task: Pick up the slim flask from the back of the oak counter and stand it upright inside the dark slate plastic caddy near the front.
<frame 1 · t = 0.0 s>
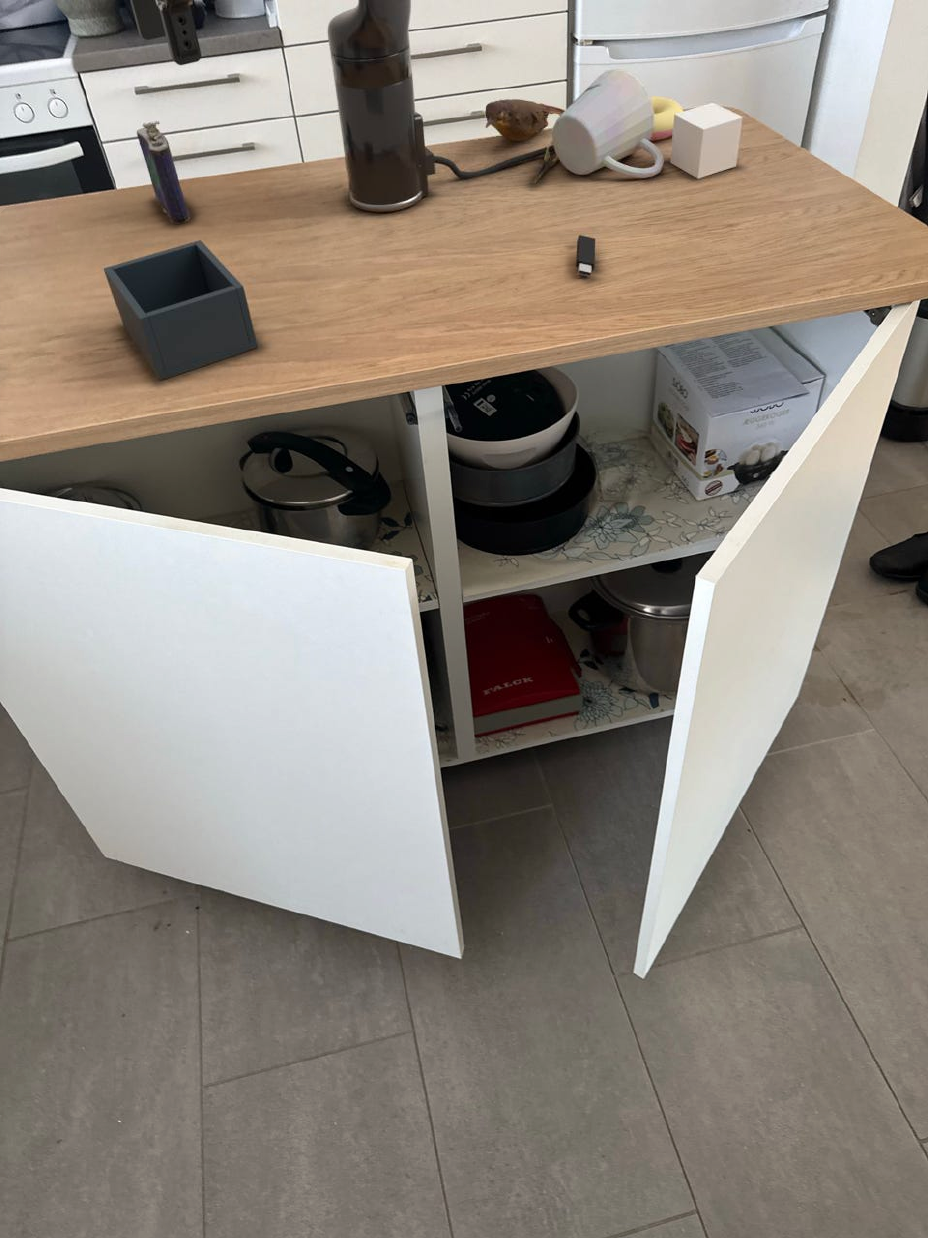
hand: (170, 48, 76), 28 cm above the countertop, tool pointing down, fingers open, 8 cm apart
caddy: (189, 337, 100), on the countertop
brown clothespin: (546, 169, 125), on the countertop
bird sculpture: (523, 140, 133), on the countertop
usb flash drive: (587, 250, 106), point 1 cm above the countertop
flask: (174, 211, 122), on the countertop
mug: (584, 158, 119), point 3 cm above the countertop
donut: (679, 130, 128), point 1 cm above the countertop
white cube: (717, 115, 116), point 7 cm above the countertop
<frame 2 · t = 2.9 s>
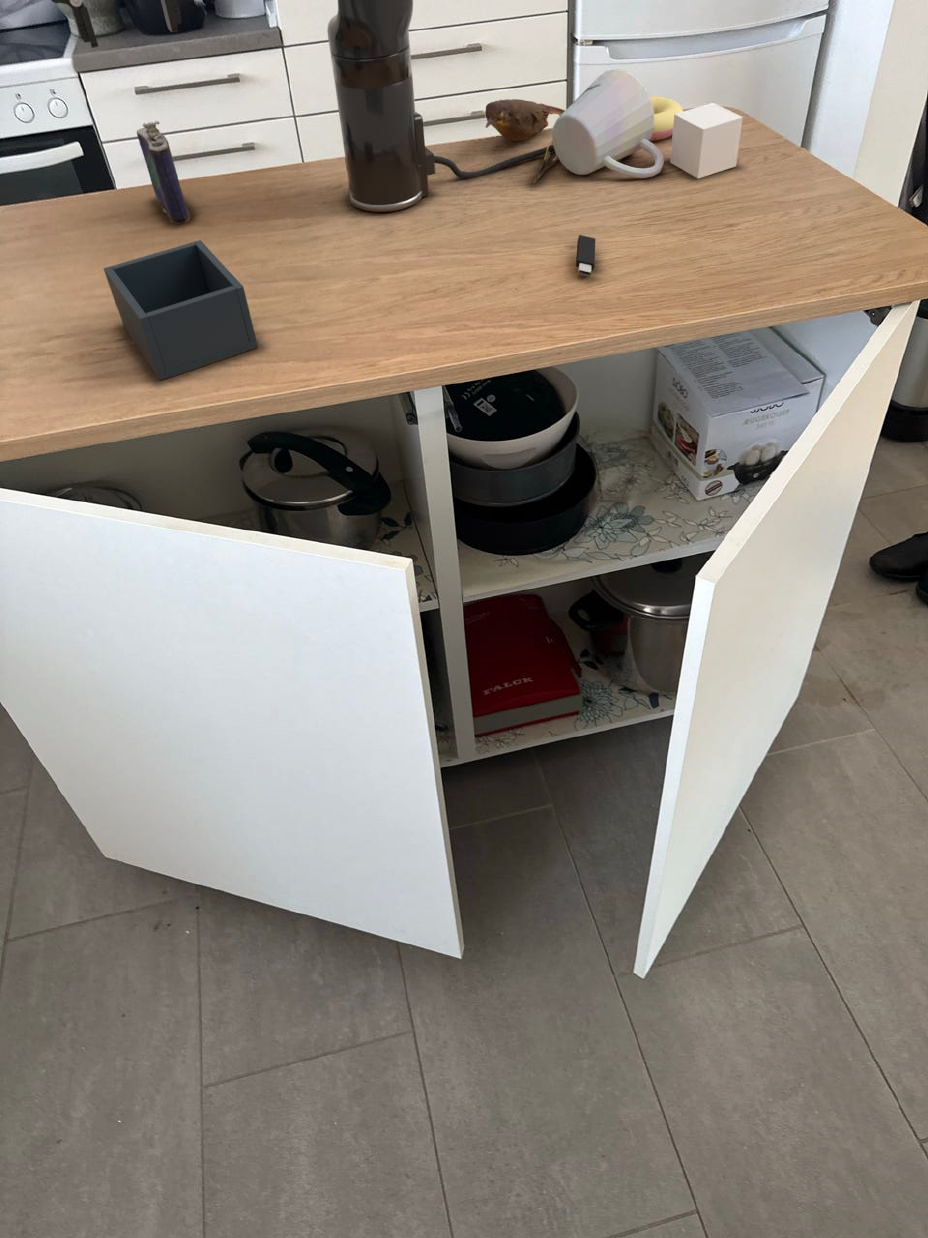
hand: (133, 37, 100), 22 cm above the countertop, tool pointing down, fingers open, 8 cm apart
nothing on the countertop moved.
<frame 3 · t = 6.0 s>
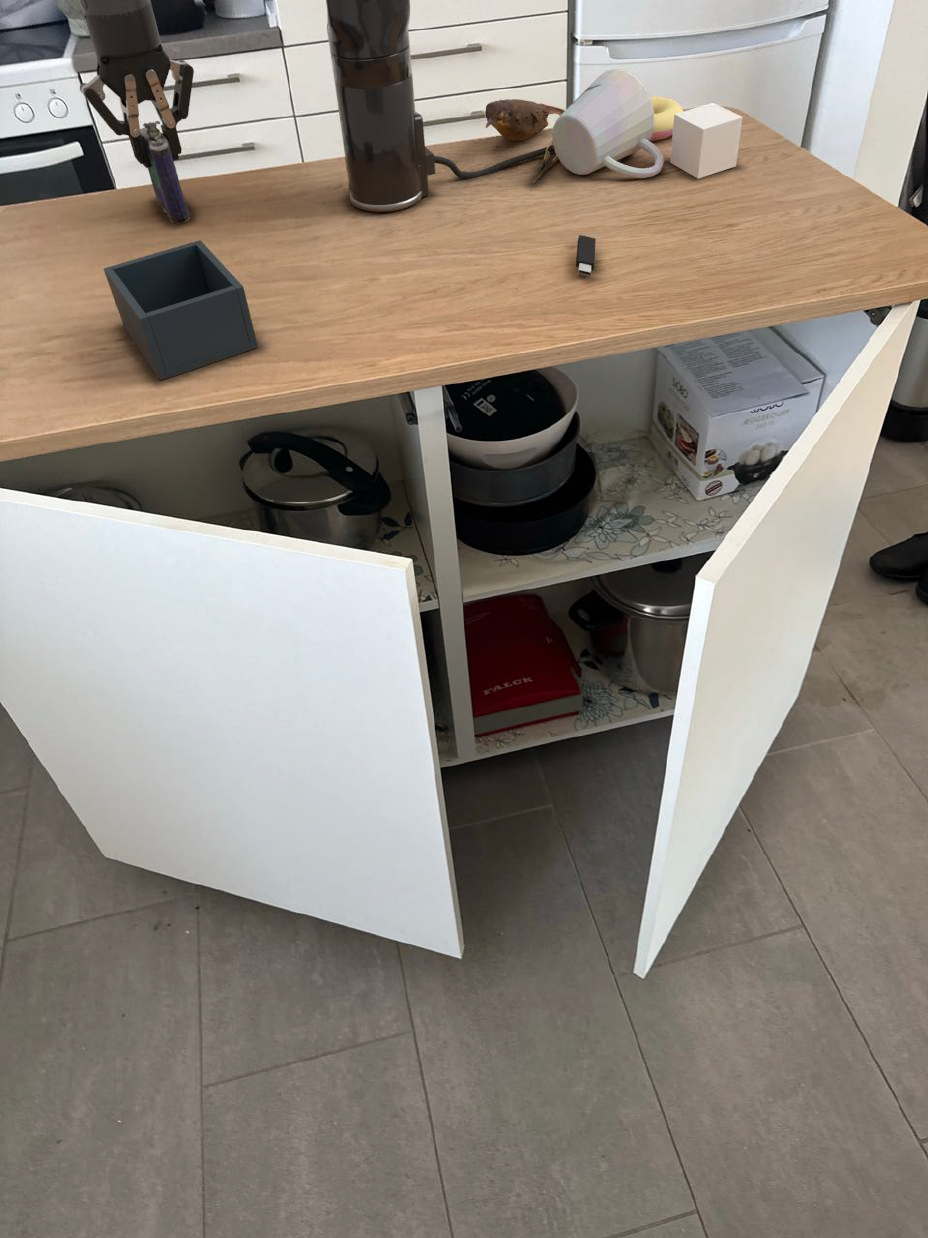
hand: (160, 161, 118), 6 cm above the countertop, tool pointing down, fingers closed on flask, 3 cm apart
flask: (174, 211, 122), on the countertop, touching gripper
everything else where it was.
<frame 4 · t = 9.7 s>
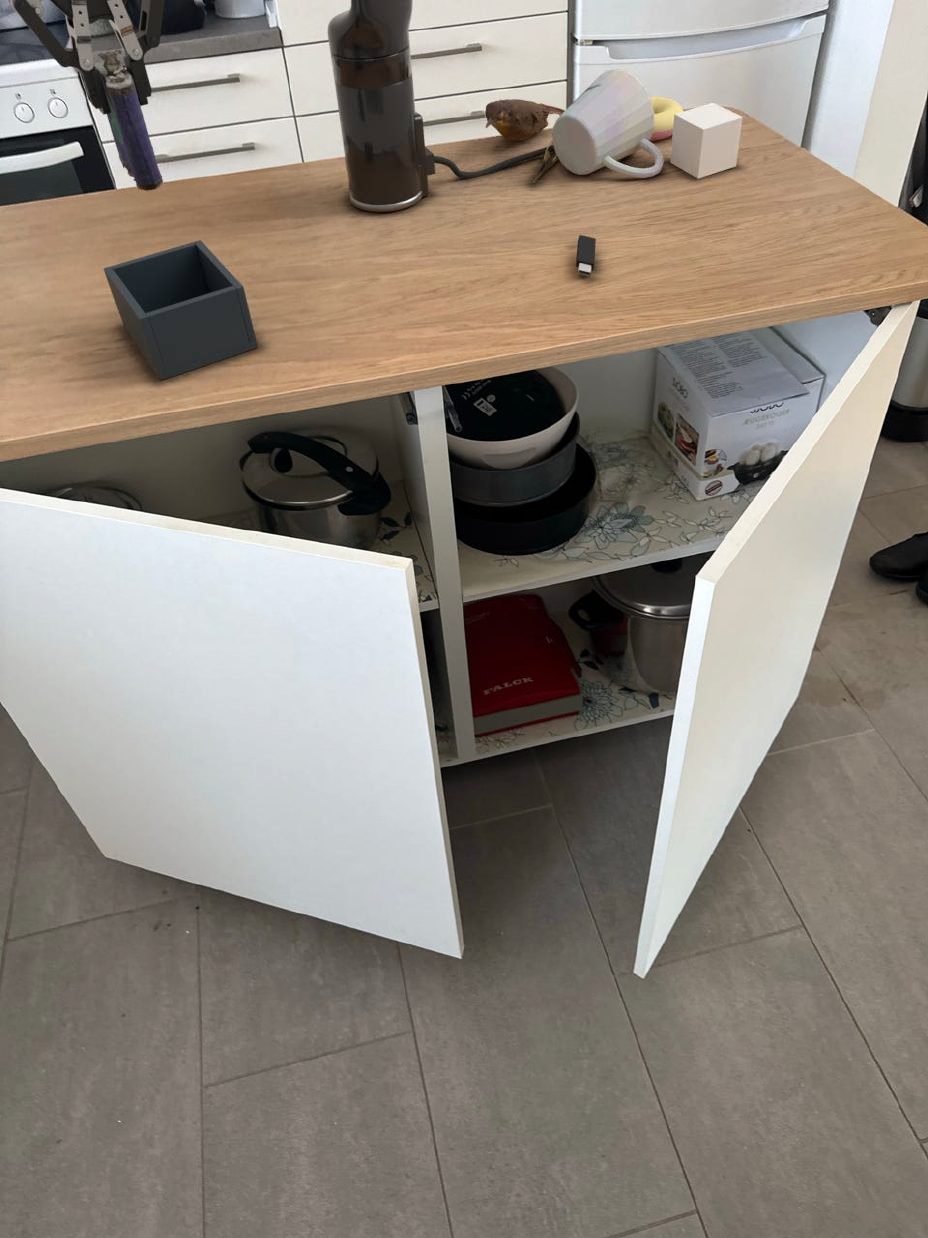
hand: (123, 106, 88), 21 cm above the countertop, tool pointing down, fingers closed on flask, 3 cm apart
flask: (143, 175, 92), point 15 cm above the countertop, touching gripper
everything else where it was.
when the fingers open (7 cm above the countertop, at t = 13.6 s): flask stays where it is, resting on caddy.
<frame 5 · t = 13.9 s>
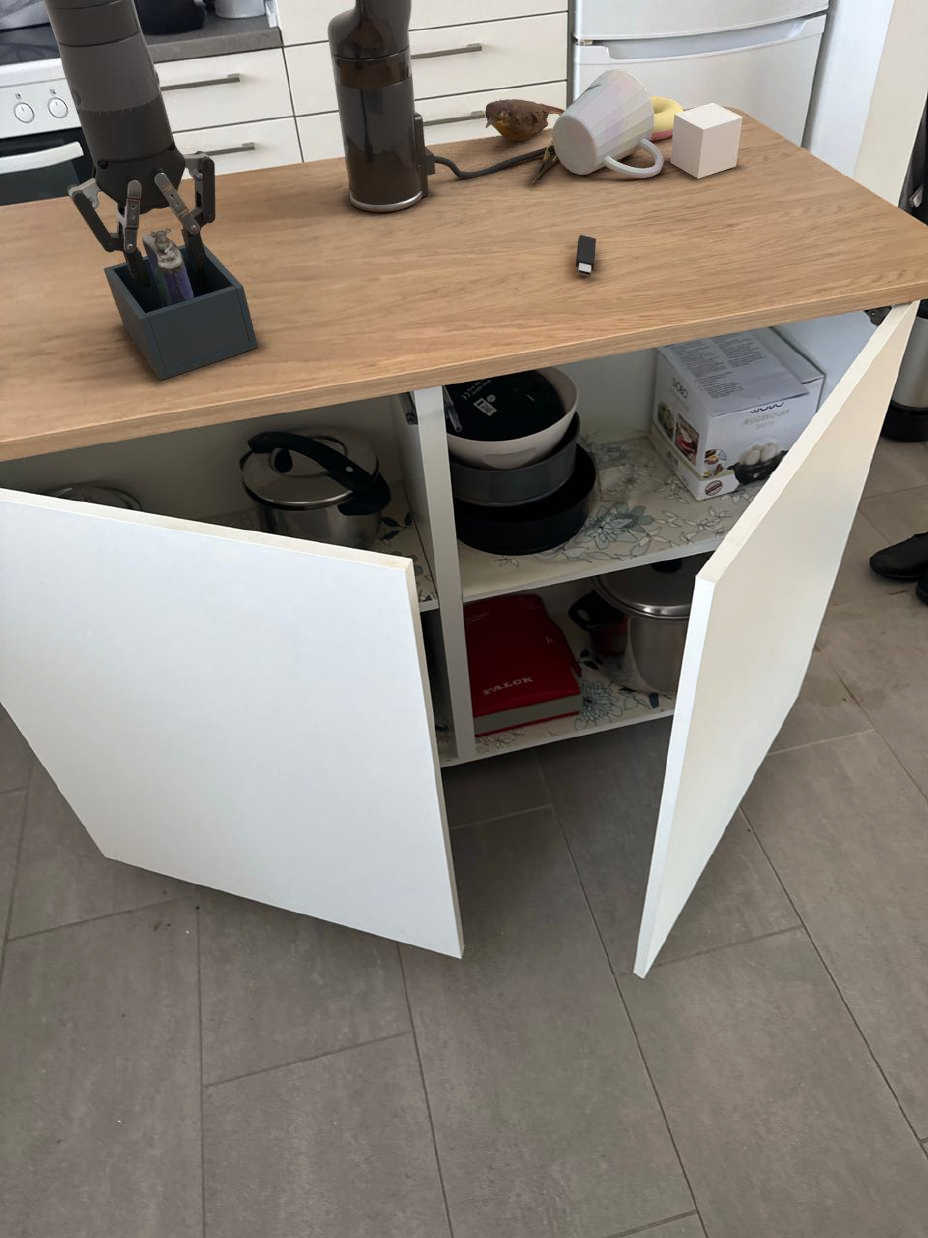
hand: (171, 275, 95), 7 cm above the countertop, tool pointing down, fingers open, 5 cm apart
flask: (188, 331, 100), point 1 cm above the countertop, touching caddy
everything else where it was.
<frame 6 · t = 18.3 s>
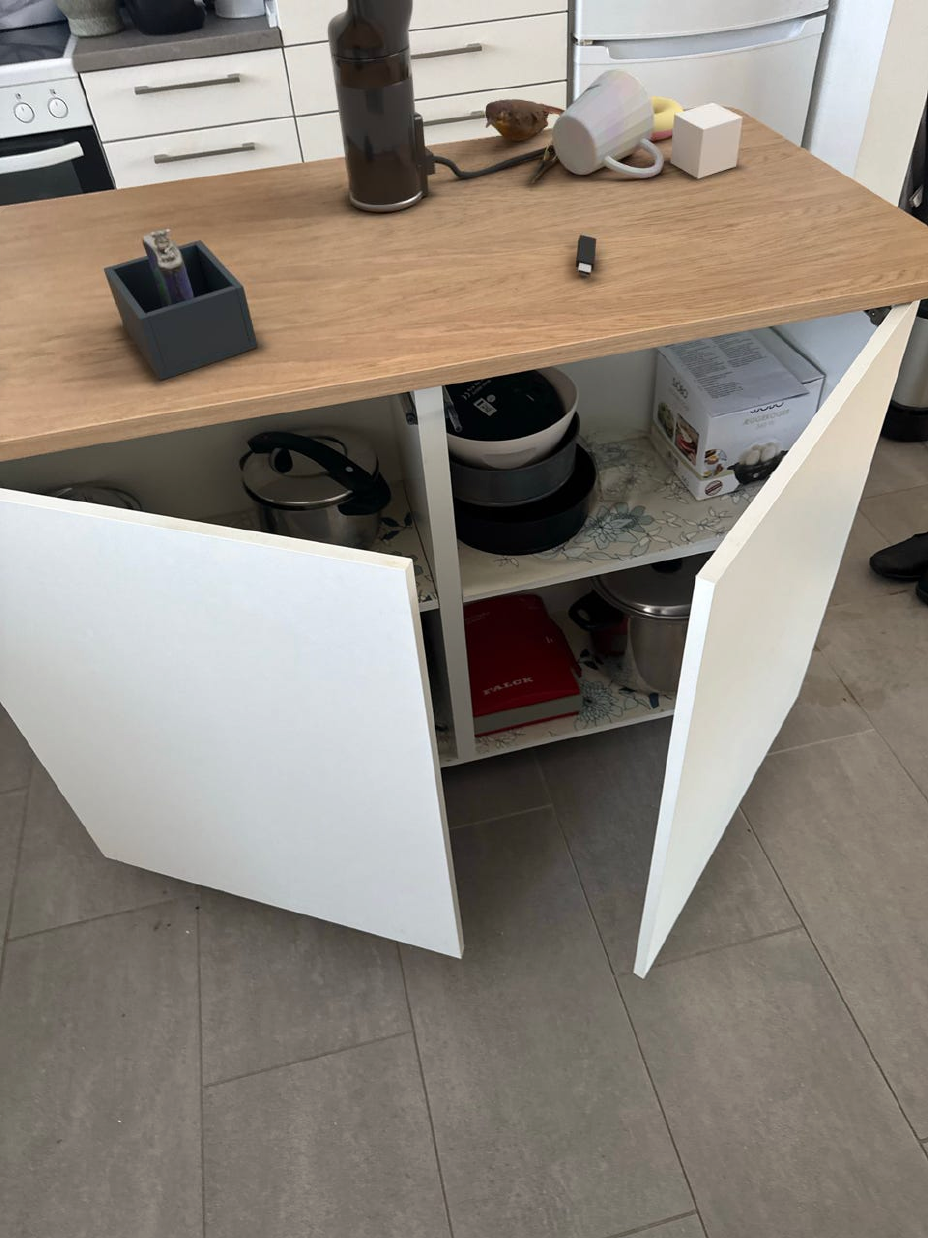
nothing on the countertop moved.
at the end: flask inside the target area in the caddy (0.1 cm from its centre), point 0.6 cm above the caddy's base; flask tilted 0° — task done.
